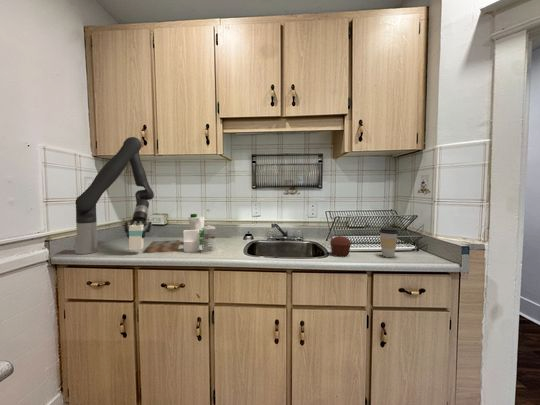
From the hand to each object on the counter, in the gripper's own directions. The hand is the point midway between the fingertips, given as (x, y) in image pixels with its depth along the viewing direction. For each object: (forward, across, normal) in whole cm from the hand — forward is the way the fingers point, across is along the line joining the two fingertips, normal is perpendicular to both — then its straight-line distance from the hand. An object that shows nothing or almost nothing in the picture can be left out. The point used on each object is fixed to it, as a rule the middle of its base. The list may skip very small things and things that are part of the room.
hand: (135, 237), depth 133 cm
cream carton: (+3, 0, +6) cm, 7 cm away
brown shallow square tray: (0, +14, +13) cm, 19 cm away
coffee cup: (+35, +132, -26) cm, 139 cm away
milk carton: (-7, +33, +19) cm, 38 cm away
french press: (+9, +38, +3) cm, 40 cm away
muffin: (+28, +109, -18) cm, 114 cm away
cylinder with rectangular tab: (+5, +30, +7) cm, 31 cm away
